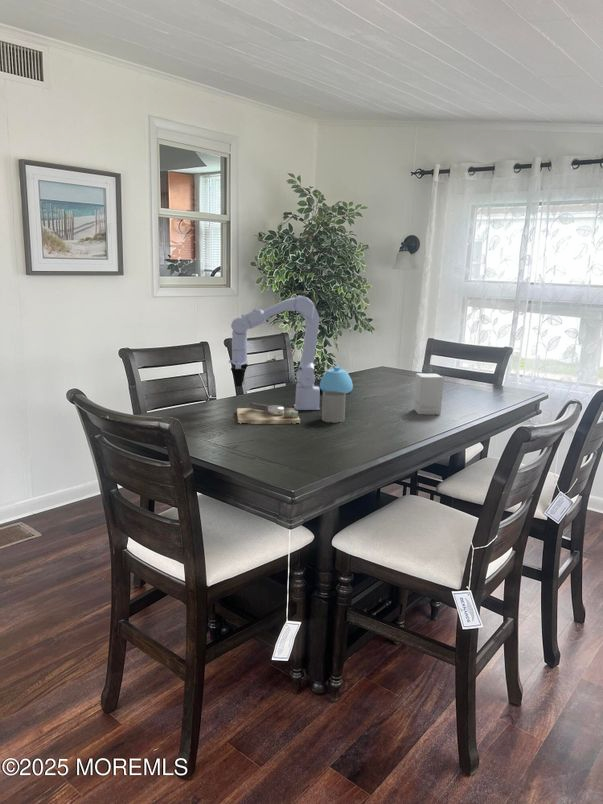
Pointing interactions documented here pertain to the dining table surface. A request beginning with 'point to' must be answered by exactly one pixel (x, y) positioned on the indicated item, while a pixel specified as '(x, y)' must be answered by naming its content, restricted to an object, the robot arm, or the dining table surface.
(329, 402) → the cup
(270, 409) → the grey spoon
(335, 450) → the dining table surface
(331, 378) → the sugar bowl
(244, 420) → the oak board
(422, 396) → the supplement box
